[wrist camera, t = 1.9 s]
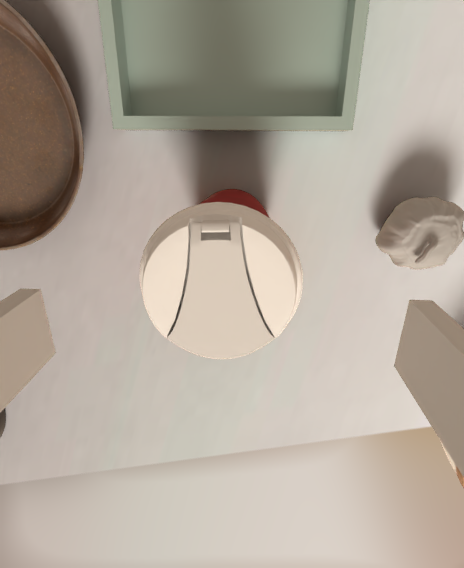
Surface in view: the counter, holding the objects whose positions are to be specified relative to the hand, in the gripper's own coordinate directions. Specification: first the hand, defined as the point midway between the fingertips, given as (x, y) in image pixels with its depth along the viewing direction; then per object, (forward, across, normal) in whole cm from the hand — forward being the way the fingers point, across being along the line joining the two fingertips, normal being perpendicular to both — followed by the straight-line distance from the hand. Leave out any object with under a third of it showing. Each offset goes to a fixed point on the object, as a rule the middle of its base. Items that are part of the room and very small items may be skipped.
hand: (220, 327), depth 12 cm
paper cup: (+17, 0, 0) cm, 17 cm away
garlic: (+17, -14, 0) cm, 22 cm away
